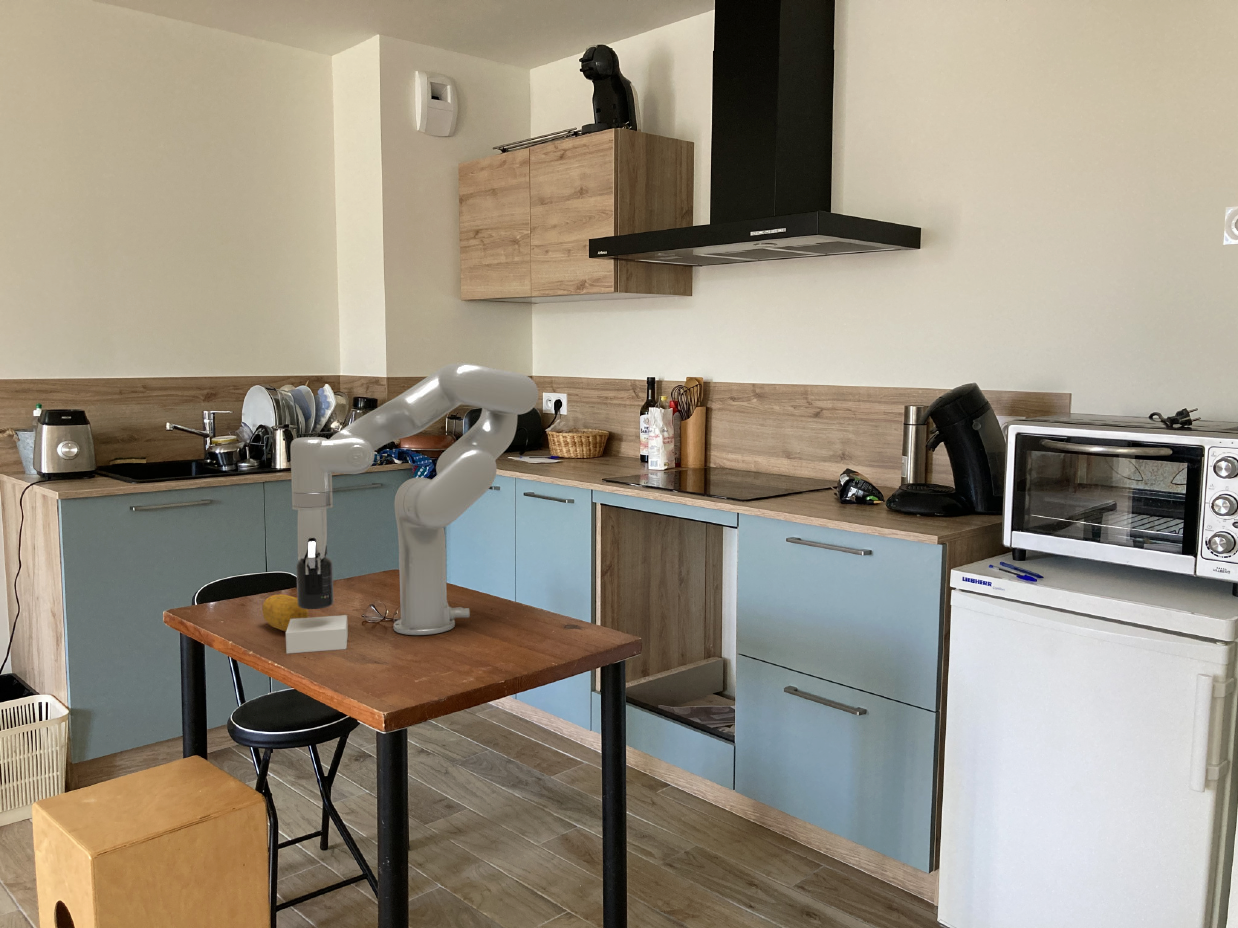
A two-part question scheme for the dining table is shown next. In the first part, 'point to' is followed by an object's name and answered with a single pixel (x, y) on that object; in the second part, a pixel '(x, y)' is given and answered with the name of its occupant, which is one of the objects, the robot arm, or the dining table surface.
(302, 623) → the stand
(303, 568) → the supplement bottle
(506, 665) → the dining table surface
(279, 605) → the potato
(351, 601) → the dining table surface
